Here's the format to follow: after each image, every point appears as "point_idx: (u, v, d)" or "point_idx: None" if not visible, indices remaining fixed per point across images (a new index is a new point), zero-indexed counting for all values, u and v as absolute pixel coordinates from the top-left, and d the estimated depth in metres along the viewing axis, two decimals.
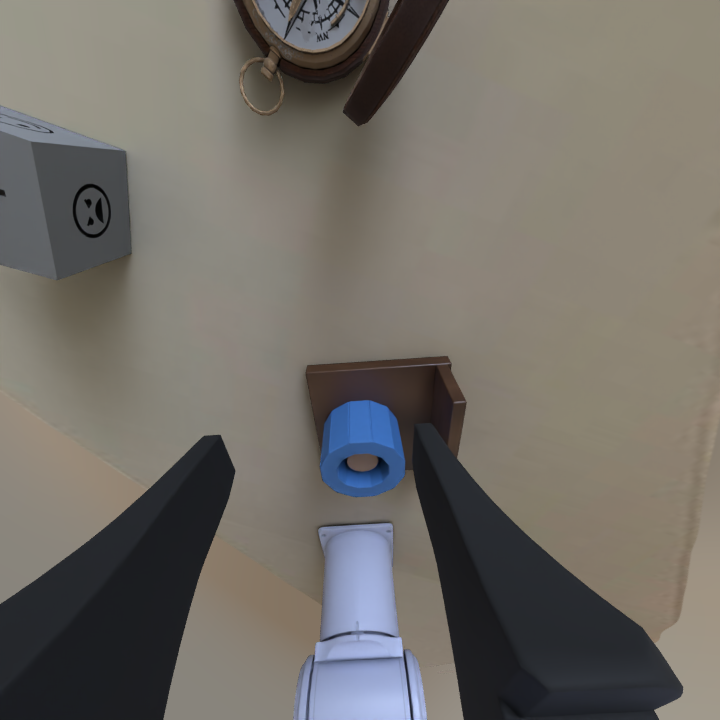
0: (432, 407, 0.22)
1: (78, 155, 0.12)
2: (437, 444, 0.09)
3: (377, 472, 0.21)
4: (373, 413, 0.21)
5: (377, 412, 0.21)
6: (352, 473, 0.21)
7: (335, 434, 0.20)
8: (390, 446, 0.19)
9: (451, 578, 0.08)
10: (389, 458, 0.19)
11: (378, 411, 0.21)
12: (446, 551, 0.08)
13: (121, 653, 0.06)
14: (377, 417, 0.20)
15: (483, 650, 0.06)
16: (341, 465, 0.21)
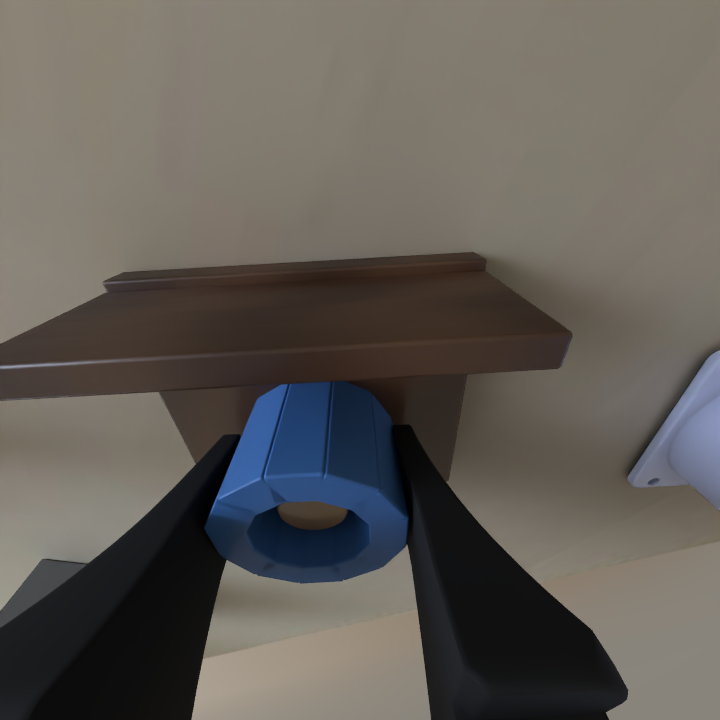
0: None
1: None
2: (412, 445, 0.09)
3: None
4: None
5: None
6: (362, 518, 0.10)
7: None
8: (214, 504, 0.07)
9: (420, 580, 0.08)
10: (254, 504, 0.07)
11: None
12: (416, 553, 0.08)
13: (154, 651, 0.06)
14: None
15: (441, 653, 0.06)
16: (341, 525, 0.10)
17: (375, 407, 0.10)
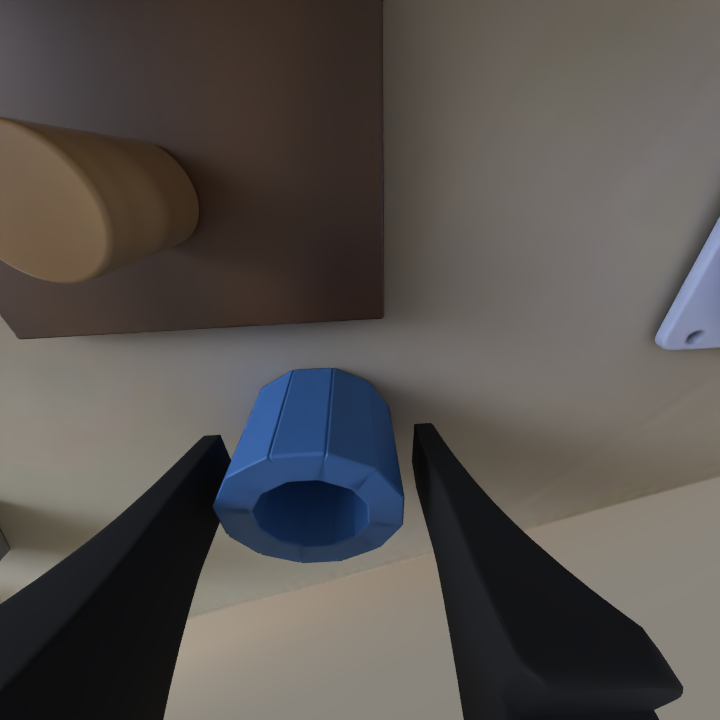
0: None
1: None
2: (437, 444, 0.09)
3: None
4: None
5: None
6: (360, 500, 0.10)
7: None
8: (222, 483, 0.08)
9: (451, 578, 0.08)
10: (260, 483, 0.08)
11: (248, 419, 0.11)
12: (446, 551, 0.08)
13: (121, 653, 0.06)
14: None
15: (483, 650, 0.06)
16: (340, 508, 0.11)
17: (373, 397, 0.11)
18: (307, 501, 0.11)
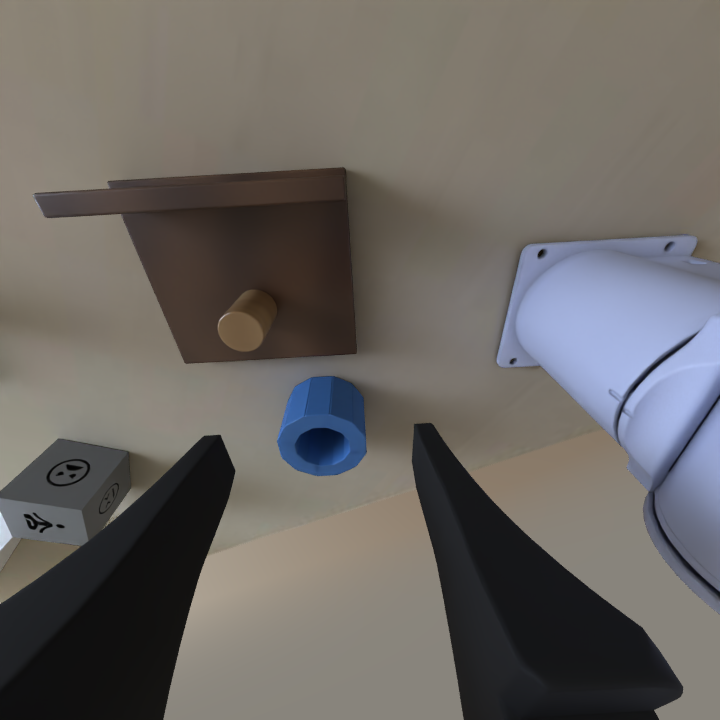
0: None
1: (28, 471, 0.21)
2: (437, 444, 0.09)
3: None
4: (285, 411, 0.21)
5: (288, 405, 0.21)
6: (346, 443, 0.20)
7: None
8: (283, 428, 0.18)
9: (451, 578, 0.08)
10: (300, 428, 0.18)
11: (288, 402, 0.21)
12: (446, 551, 0.08)
13: (121, 653, 0.06)
14: (286, 410, 0.20)
15: (483, 651, 0.06)
16: (336, 449, 0.21)
17: (353, 391, 0.21)
18: (319, 446, 0.21)
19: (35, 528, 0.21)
